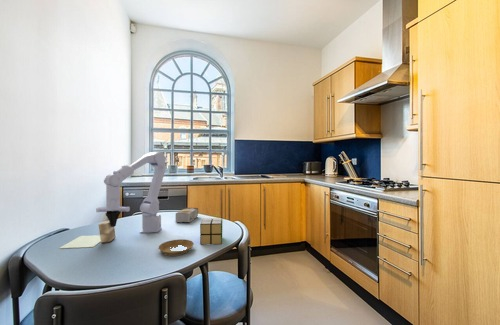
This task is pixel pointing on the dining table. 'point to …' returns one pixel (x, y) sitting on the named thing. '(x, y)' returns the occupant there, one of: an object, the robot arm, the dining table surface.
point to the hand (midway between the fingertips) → (113, 226)
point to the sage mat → (83, 242)
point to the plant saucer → (174, 243)
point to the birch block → (106, 232)
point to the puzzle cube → (211, 231)
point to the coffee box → (186, 215)
